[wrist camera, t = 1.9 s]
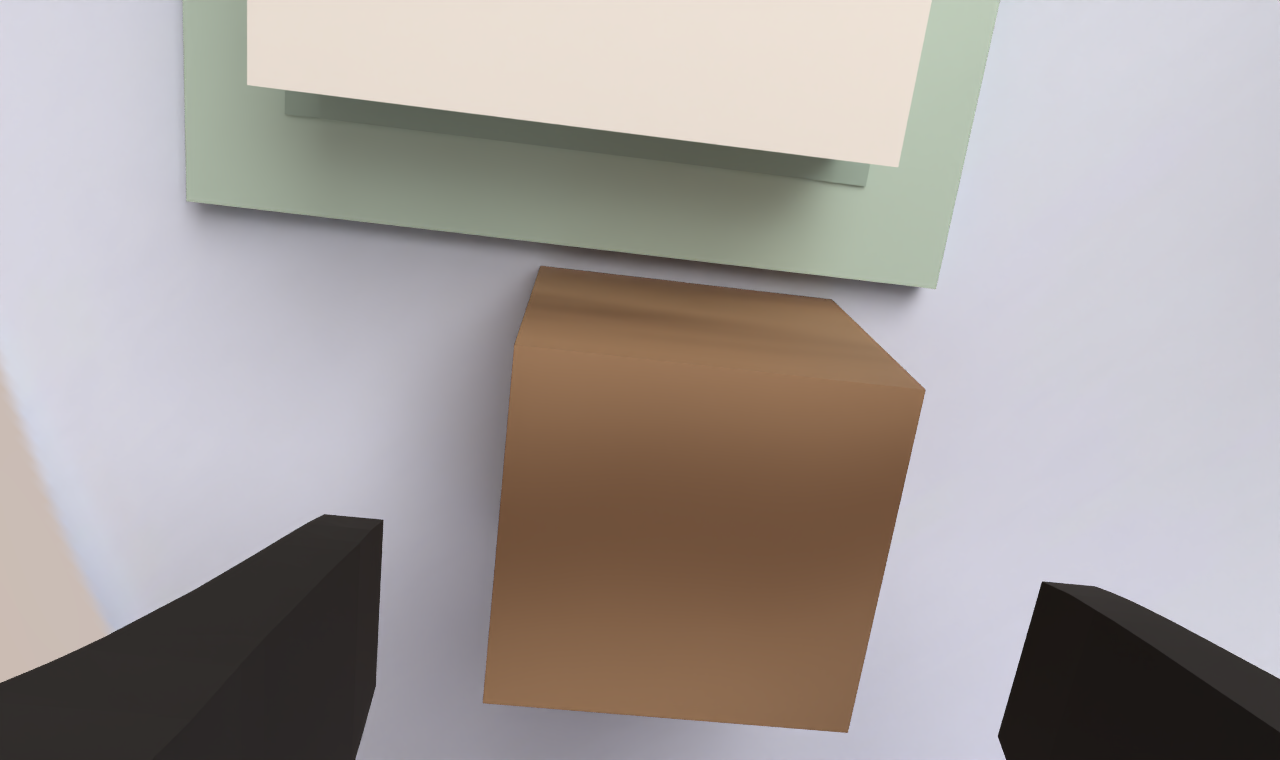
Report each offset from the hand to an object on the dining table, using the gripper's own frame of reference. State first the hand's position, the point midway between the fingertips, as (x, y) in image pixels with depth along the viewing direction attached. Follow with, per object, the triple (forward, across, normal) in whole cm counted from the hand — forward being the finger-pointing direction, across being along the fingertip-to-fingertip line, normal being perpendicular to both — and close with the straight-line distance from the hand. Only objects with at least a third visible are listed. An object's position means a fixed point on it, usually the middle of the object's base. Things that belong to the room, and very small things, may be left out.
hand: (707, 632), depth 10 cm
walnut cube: (+7, 0, 0) cm, 7 cm away
